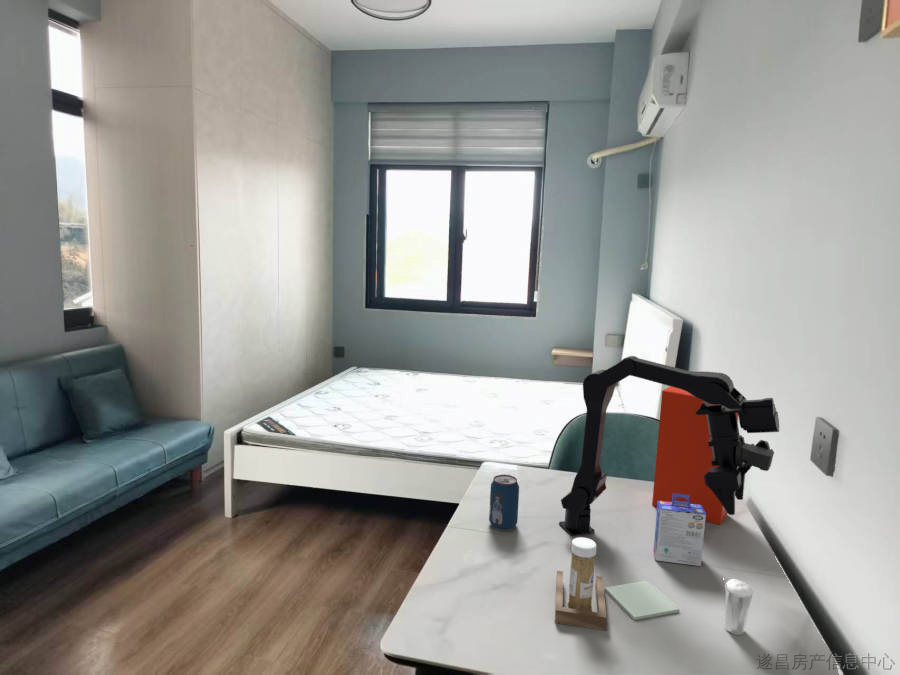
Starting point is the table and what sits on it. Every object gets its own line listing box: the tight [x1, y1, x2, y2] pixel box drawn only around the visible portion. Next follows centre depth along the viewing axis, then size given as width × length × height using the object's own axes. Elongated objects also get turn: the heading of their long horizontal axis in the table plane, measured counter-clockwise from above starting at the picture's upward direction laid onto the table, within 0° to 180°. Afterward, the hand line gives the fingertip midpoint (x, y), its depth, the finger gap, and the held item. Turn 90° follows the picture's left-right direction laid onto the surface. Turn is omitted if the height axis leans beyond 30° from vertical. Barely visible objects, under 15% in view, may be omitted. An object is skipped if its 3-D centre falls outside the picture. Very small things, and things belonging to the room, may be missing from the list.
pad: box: [603, 580, 680, 621], centre depth 116 cm, size 10×10×1 cm
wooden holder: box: [554, 570, 608, 631], centre depth 114 cm, size 14×9×2 cm, turn 169°
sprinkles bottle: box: [567, 536, 597, 612], centre depth 112 cm, size 5×5×14 cm
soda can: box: [488, 474, 520, 532], centre depth 144 cm, size 7×7×12 cm
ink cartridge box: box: [652, 493, 707, 567], centre depth 132 cm, size 10×6×14 cm, turn 78°
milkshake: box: [723, 578, 754, 636], centre depth 107 cm, size 5×5×10 cm
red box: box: [651, 386, 739, 526], centre depth 155 cm, size 8×17×32 cm, turn 52°
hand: (736, 506), depth 124 cm, fingers open, 9 cm apart
